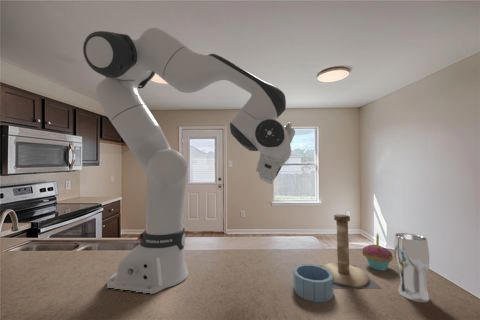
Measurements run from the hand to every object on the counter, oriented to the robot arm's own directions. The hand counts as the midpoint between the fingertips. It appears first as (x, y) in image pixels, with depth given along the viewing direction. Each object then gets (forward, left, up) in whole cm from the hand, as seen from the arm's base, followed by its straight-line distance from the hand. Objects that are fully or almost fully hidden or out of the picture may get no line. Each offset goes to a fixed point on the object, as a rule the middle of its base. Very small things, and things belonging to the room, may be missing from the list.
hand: (280, 159), depth 78 cm
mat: (+17, -12, -37) cm, 42 cm away
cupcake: (+31, -6, -37) cm, 48 cm away
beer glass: (+30, -22, -37) cm, 52 cm away
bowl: (+5, -20, -37) cm, 42 cm away
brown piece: (+17, -12, -36) cm, 42 cm away
